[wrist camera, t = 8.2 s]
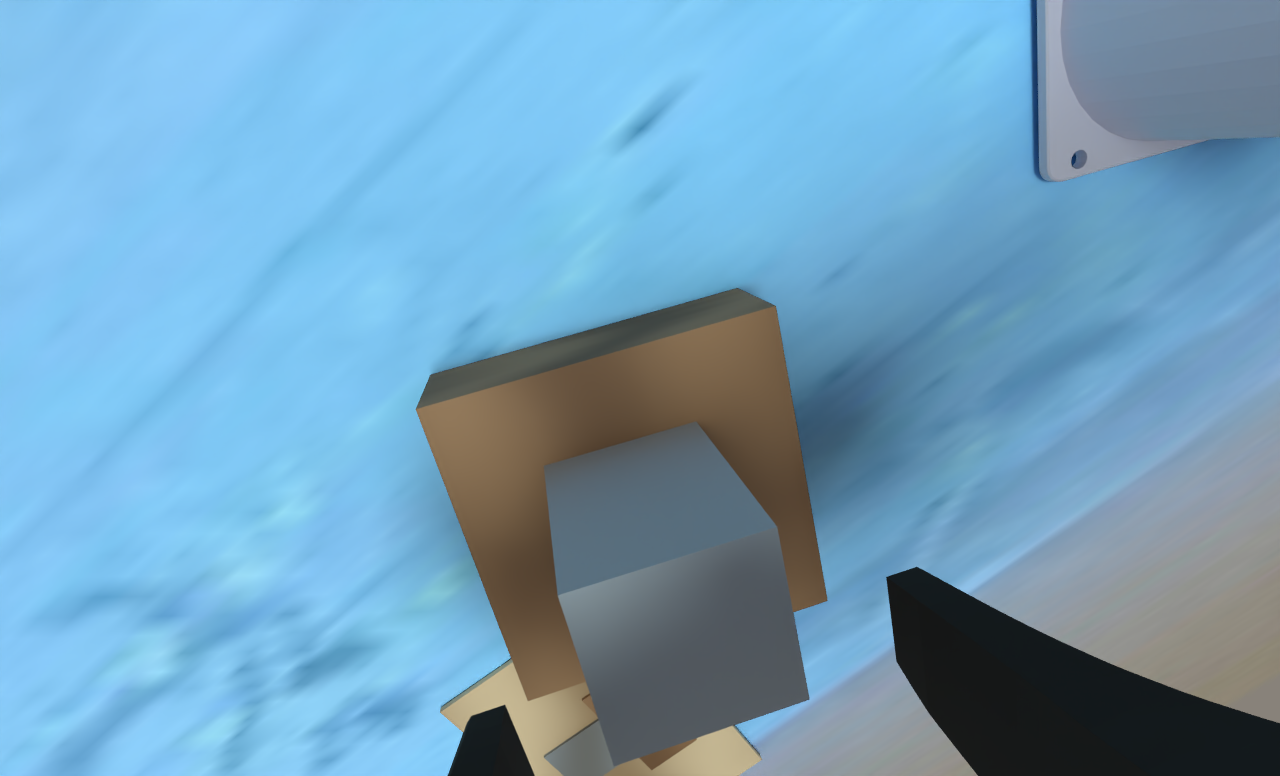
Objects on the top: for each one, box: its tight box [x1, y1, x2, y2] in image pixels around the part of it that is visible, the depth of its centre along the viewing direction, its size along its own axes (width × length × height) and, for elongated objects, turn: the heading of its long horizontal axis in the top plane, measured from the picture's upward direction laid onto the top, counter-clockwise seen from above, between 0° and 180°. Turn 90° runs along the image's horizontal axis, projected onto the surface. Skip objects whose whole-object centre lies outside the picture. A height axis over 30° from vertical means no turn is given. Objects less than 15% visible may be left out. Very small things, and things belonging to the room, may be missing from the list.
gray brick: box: [544, 422, 809, 766], centre depth 15 cm, size 4×4×6 cm
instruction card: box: [440, 659, 762, 776], centre depth 23 cm, size 7×10×1 cm
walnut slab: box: [416, 288, 828, 701], centre depth 19 cm, size 9×9×3 cm
